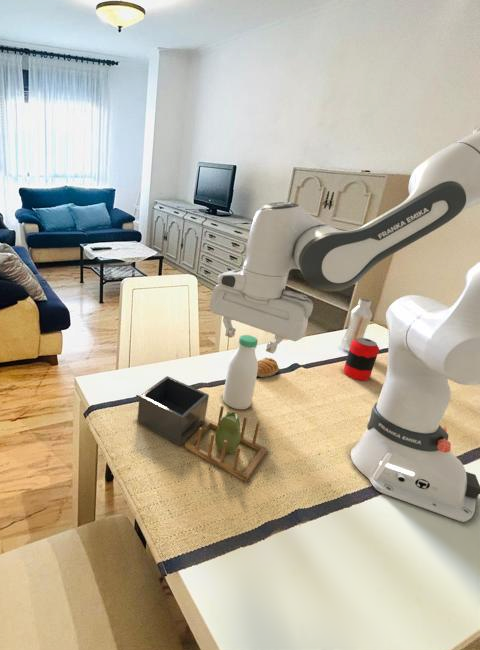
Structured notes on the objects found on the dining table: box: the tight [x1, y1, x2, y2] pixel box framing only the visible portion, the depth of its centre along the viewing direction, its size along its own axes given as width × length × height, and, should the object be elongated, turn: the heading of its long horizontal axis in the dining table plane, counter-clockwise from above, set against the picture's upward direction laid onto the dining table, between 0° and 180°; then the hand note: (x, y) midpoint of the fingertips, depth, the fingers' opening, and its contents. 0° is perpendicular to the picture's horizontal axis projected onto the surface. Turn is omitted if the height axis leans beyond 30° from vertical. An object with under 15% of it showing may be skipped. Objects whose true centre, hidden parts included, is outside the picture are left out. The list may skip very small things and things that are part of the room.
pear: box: [214, 411, 241, 454], centre depth 88 cm, size 6×5×10 cm
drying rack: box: [184, 405, 268, 482], centre depth 89 cm, size 15×12×7 cm
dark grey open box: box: [136, 375, 210, 447], centre depth 97 cm, size 13×13×8 cm
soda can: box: [342, 337, 380, 381], centre depth 123 cm, size 8×8×12 cm
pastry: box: [257, 357, 280, 378], centre depth 123 cm, size 9×7×4 cm
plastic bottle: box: [340, 297, 373, 352], centre depth 138 cm, size 6×7×20 cm
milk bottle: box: [222, 334, 258, 410], centre depth 105 cm, size 8×8×20 cm
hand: (249, 343), depth 84 cm, fingers open, 8 cm apart
